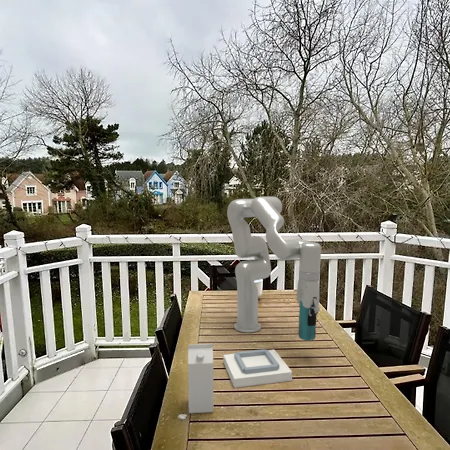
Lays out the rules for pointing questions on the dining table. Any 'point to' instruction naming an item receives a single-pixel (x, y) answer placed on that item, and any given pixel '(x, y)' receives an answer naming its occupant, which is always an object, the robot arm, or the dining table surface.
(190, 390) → the milk carton
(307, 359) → the dining table surface
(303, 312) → the beverage bottle
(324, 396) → the dining table surface
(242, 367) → the display stand
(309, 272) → the robot arm
